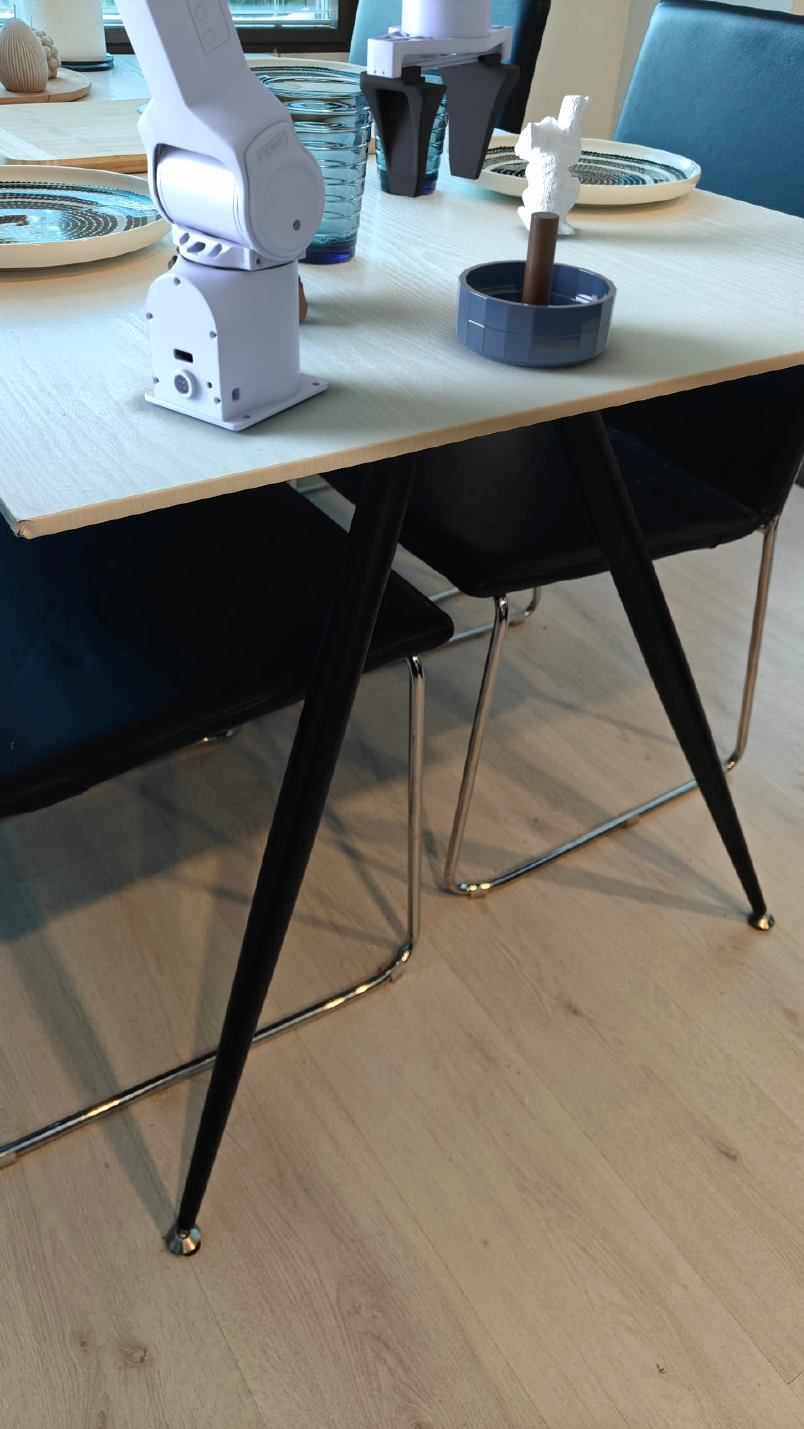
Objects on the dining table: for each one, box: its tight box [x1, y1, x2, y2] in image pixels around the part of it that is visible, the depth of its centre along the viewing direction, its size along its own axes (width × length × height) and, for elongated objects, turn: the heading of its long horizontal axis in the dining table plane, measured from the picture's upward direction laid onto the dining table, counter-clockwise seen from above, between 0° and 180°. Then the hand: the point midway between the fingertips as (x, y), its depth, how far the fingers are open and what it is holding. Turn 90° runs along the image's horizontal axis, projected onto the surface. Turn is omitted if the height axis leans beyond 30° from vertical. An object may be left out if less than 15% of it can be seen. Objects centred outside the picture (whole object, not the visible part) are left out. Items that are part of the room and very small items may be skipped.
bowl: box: [454, 259, 618, 369], centre depth 81 cm, size 11×11×4 cm
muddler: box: [519, 212, 559, 306], centre depth 79 cm, size 4×4×8 cm
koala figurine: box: [514, 94, 593, 236], centre depth 104 cm, size 8×7×12 cm
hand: (436, 186), depth 77 cm, fingers open, 7 cm apart
